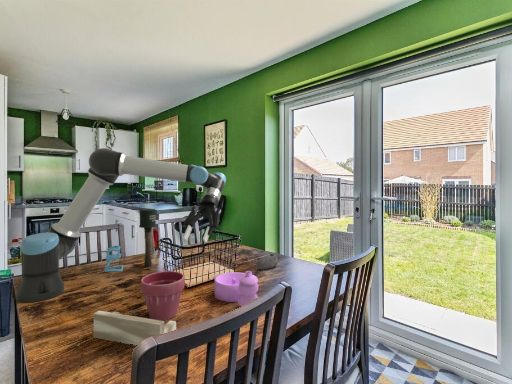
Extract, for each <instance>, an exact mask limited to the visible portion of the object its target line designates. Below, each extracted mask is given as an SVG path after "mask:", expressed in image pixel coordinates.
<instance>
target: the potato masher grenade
mask: <svg viewBox="0 0 512 384" xmlns="http://www.w3.org/2000/svg"><path fill="white" fill-rule="evenodd" d="M156 213H157V211H156V209H155V208H142V209H139V225H138V228H139V229H140V228H142V229H143V230H144V243H145V244H144V252H145V253H144V263H143V265H144V267H145V268H148V267H151V266H152V253H151V252H152V251H151V250H152V249H151V246H152V245H151V241H152V228H156V227H157V221H156V219H157V218H156Z"/></svg>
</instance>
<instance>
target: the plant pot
mask: <svg viewBox="0 0 512 384" xmlns="http://www.w3.org/2000/svg"><path fill="white" fill-rule="evenodd" d="M185 286H186V285H185V274H183V273H182V272H179V271H173V270H165V271H158V272H153V273H149V274H147V275H145V276H143V277H142V278H141V280H140V291H141V293H142V294H143V295H144V299H145V305H146V308H147V312H148V316H149V319H153V320H159V321H166V320H170V319H171V318H174V317H176V315H177V314H178V310H179V305H180V300H181V295H182V291H183V290H184V288H185Z"/></svg>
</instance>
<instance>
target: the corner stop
mask: <svg viewBox="0 0 512 384" xmlns="http://www.w3.org/2000/svg"><path fill="white" fill-rule="evenodd" d="M92 319H93V338H95V339H101V340H105V341H111V342H115V341H116V342H115V343H120V342H121V344H125V345H130V344H133V345H132V346H135V347H137V346H136V345H137V344H138V343H139V342H140V341H142V340H143V339H145V338H148V337H151V336H155V335H159V334H164V333H168V332H171V331H174V330H176V331H177V321H176V320H169V321H168V322H167V323H165V320H153V319H151V318H147V317H141V316H136V315H135V316H134V315H127V314H121V313H120V311H112V312H109V311H103V310H98V311H96V312H94V313H93V318H92Z"/></svg>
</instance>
